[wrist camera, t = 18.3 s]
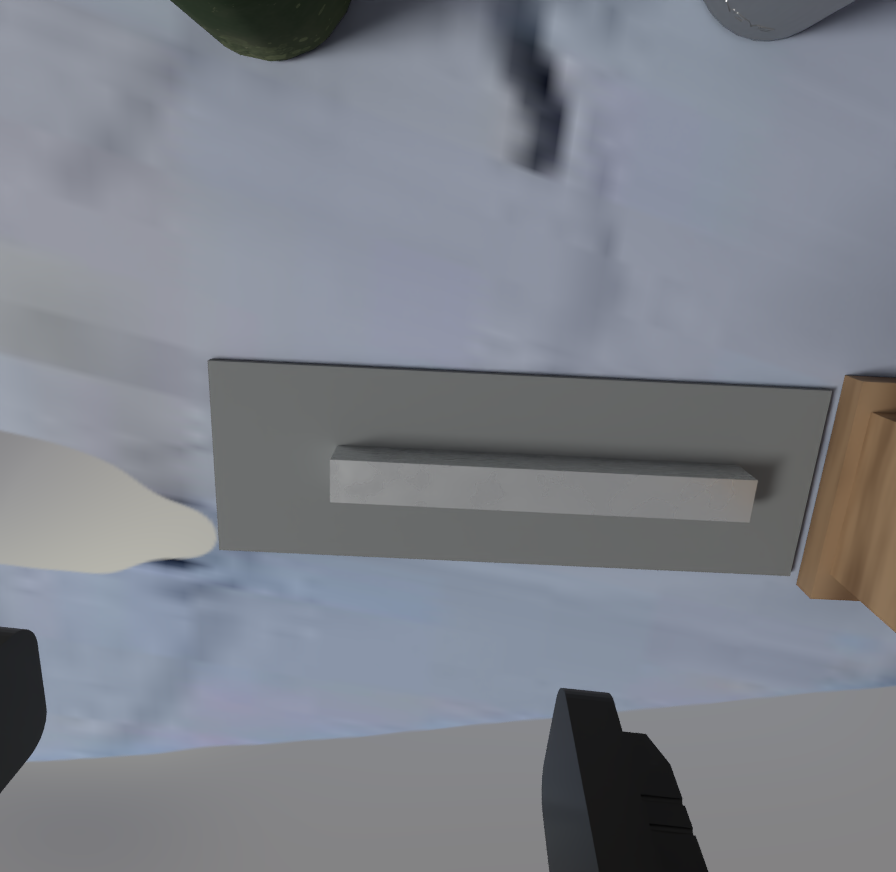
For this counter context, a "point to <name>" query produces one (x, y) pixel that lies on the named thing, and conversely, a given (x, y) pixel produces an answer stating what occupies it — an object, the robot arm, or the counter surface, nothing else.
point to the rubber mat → (508, 432)
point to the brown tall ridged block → (857, 503)
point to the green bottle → (267, 24)
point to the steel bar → (541, 484)
